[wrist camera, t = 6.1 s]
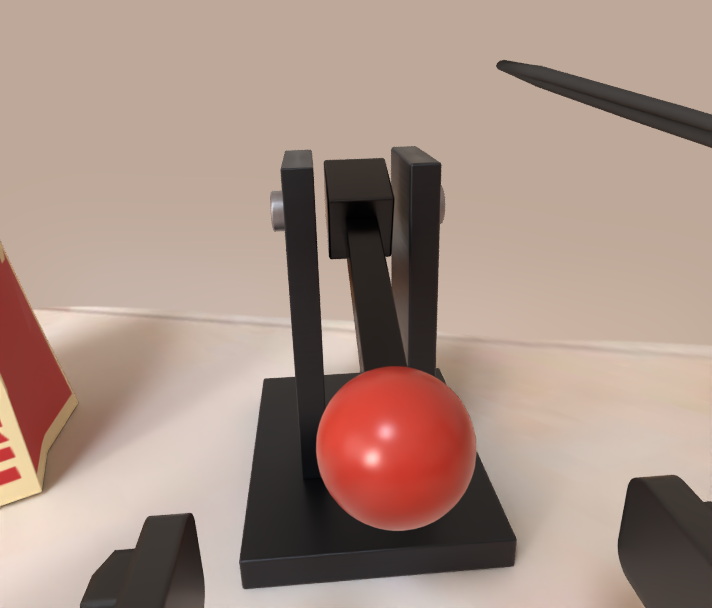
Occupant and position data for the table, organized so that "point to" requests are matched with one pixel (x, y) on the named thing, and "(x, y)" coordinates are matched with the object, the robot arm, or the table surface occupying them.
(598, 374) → the table surface
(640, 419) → the table surface
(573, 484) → the table surface
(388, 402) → the lever
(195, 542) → the robot arm
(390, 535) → the bracket
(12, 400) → the milk carton
